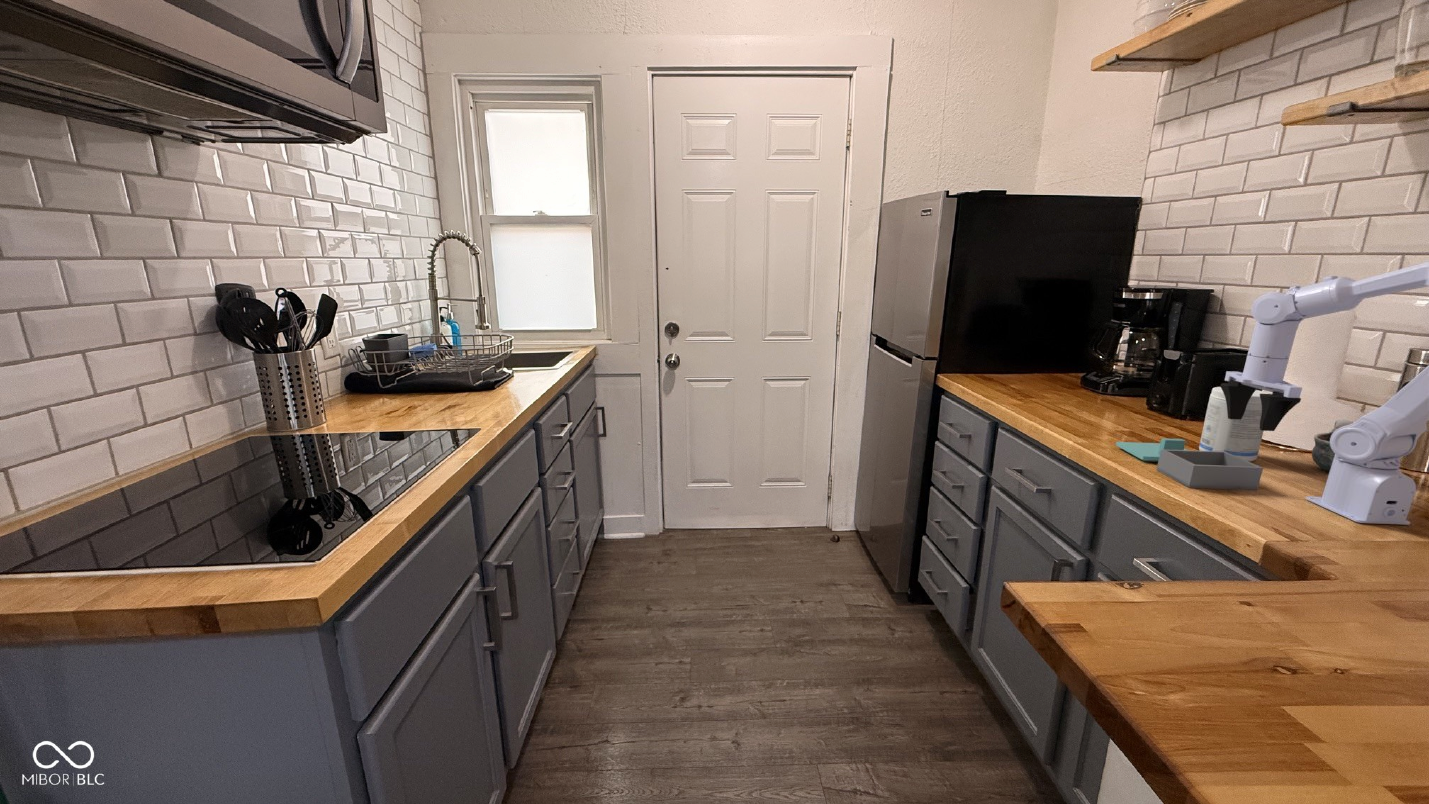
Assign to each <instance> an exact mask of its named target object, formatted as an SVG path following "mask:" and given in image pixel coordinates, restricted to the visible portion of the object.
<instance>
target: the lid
mask: <svg viewBox="0 0 1429 804" xmlns="http://www.w3.org/2000/svg"><path fill="white" fill-rule="evenodd" d="M1186 442H1187V441H1186V440H1185V439H1182V438H1161V440H1160V442H1159V443H1157V442H1134V441H1133V442H1129V441H1116V442H1115V446H1116V447H1118V448H1121V449H1122V450H1124V451H1125V452H1127V453H1129V454H1130V455H1132V456H1134V457H1135V458H1138V459H1140V460H1142V461H1144V462H1156V463H1158V461H1159V457H1160V452H1161V449H1163V450H1188V449H1186V448H1185V445H1186Z"/></svg>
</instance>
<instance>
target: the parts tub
mask: <svg viewBox="0 0 1429 804" xmlns="http://www.w3.org/2000/svg"><path fill="white" fill-rule="evenodd" d="M1156 466H1157V467H1156V471H1157V472H1159V473H1161V474H1162V475H1165V476H1166V477H1168V478H1170V479H1172V480H1173V481H1176V482H1178V483H1180V484H1181V485H1183V486H1184V487H1187V488H1189V489H1208V490H1209V489H1211V490H1235V491H1236V490H1237V491H1238V490H1239V491H1240V490H1241V491H1258V488H1259V485H1260V481H1261V478H1262V474H1263V470H1264V467H1262V466H1260V465H1258V464H1255V463H1252V461H1251V462H1248V461H1246V460H1244V459H1241V458H1239V457H1237V456H1234V455H1232V454H1229V453H1227V452H1225V451H1200V450H1196V449H1195V450H1189V449H1187V450H1163V449H1161V452H1160V457H1159V461H1158V462H1157V465H1156Z"/></svg>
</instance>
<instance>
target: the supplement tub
mask: <svg viewBox="0 0 1429 804" xmlns="http://www.w3.org/2000/svg"><path fill="white" fill-rule="evenodd" d="M1260 394H1270V393H1269V392H1268V391H1264V390H1260V389H1256V391H1255V392H1254V393H1253V395H1252V396H1251V398H1250V400H1249V402H1248V404H1247V407H1246V410H1245V413H1244V415H1243V417H1242V419H1241V420H1240V419H1228V414H1227V404H1226V399H1225V395H1224V393H1223V390H1222V389H1221V386H1216V387H1213V388H1212V389H1211V393H1210V395H1209V399H1208V403H1207V408H1206V411H1205V417H1204V424H1203V427H1202V432H1201V436H1200V442H1199V445H1198V449H1199V450H1198V451H1225V452H1227V453H1229V454H1232V455H1234V456H1237V457H1239V458H1241V459H1244V460H1246V461H1248V462H1251V463H1252V462H1254V461H1255V460H1257V458H1258V455H1259V452H1260V448H1261V443H1262V440H1263V436H1264V432H1265V431H1262V430H1260V420H1261V415H1262V404H1261V399H1260Z"/></svg>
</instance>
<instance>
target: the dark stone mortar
mask: <svg viewBox="0 0 1429 804" xmlns="http://www.w3.org/2000/svg"><path fill="white" fill-rule="evenodd" d="M1353 423H1354V422H1353V421H1352V420H1349V419H1338V420H1335V422H1334V426H1333V428H1331V430H1330V431H1328V432H1321V433H1317V434H1315V435H1314V437H1313V439H1314V446H1313V448H1312V450H1311V459H1312V460H1313V463H1315V464H1316V465H1317V466H1318V467H1319V468H1321V470H1324V471H1327V472H1328V473H1329V472H1330V469H1331V466H1332V463H1333V459H1334V456H1335V453H1334V452H1333V450H1332V449H1331V446H1330V438H1331V435H1332V434H1333V433H1334V432H1335V431H1336V430H1337V429H1339V428H1341V427H1343V426H1346V425H1350V424H1353Z"/></svg>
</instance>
